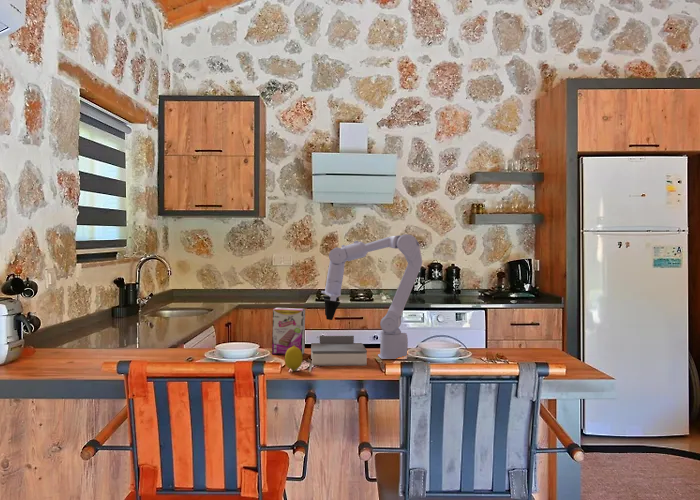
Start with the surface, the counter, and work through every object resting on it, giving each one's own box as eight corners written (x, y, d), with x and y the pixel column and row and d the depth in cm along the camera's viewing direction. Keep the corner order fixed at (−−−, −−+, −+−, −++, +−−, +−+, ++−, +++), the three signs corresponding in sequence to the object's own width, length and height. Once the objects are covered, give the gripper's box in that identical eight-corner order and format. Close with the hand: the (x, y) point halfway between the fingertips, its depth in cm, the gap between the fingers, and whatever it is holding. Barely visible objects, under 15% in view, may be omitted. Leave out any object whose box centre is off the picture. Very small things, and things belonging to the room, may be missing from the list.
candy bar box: (271, 354, 202) (272, 309, 201) (274, 352, 207) (275, 307, 206) (302, 355, 201) (303, 309, 200) (304, 353, 206) (305, 308, 205)
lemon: (299, 373, 174) (300, 347, 174) (282, 372, 175) (282, 346, 175) (304, 369, 179) (304, 344, 179) (287, 368, 180) (287, 343, 180)
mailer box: (361, 356, 200) (361, 345, 200) (366, 365, 186) (366, 353, 186) (311, 357, 198) (311, 345, 198) (312, 365, 184) (312, 353, 184)
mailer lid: (361, 344, 200) (362, 335, 200) (366, 352, 186) (367, 343, 186) (311, 344, 199) (311, 335, 198) (312, 352, 184) (312, 343, 184)
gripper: (322, 276, 210) (317, 312, 211) (324, 281, 195) (318, 319, 196) (341, 279, 211) (335, 315, 211) (344, 284, 196) (338, 322, 197)
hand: (328, 317), depth 204 cm, fingers open, 7 cm apart
